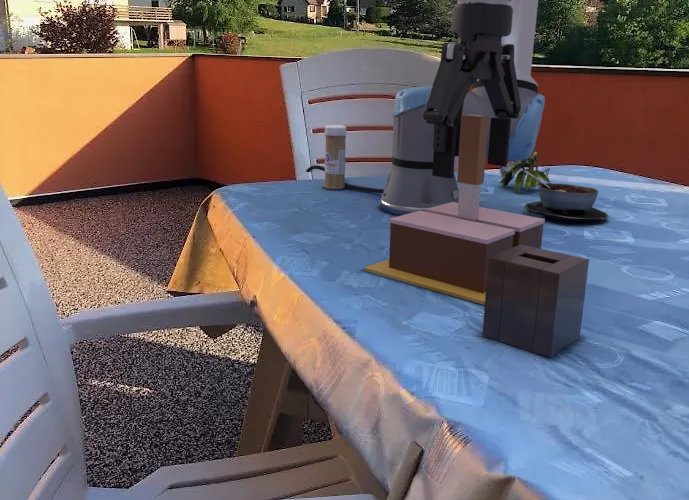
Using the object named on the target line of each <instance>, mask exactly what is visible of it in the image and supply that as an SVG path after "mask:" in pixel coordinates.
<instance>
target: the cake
mask: <svg viewBox="0 0 689 500" xmlns="http://www.w3.org/2000/svg"><path fill="white" fill-rule="evenodd" d="M457 216H458V203H456V202H450V203H446V204H443V205H439V206H435V207H431V208H428V209H426V212H425V211H416V212H413V213H409V214H405V215H398V216H395V217H390V218H389V223H390V228H389V229H390V231H389V232H390V233H389V252H388V253H389V254H388V255H389V256H388V259H385V260H382V261H379V262H376V263H373V264H370V265H367V266H364V267H363V271H364V272H367V273H371V274H375V275H378V276H381V277H383V278H388V279H391V280H396V281H399V282H402V283H406V284H410V285H413V286H416V287H420V288H424V289H427V290H430V291H434V292H437V293H441V294H444V295H448V296H451V297H455V298H458V299H462V300H465V301H469V302H472V303H476V304H479V305H483V306H485V295H486V283H487V270H488V258H489V257H490V256H493V255H495V254H498V253H500V252H503V251H505V250H508V249H511V248H513V247H516V246H518V245H526V246H530V247H535V248H540V249H542V241H543V233H544V224H545V223H546V218H542V217H536V216H530V215H525V214H520V213H515V212H511V211H510V212H509V211H504V210H499V209H492V208H488V207H482V206H479V217H478V222H474V221H469V220H464V219H459V218H457Z"/></svg>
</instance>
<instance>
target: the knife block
mask: <svg viewBox="0 0 689 500" xmlns="http://www.w3.org/2000/svg"><path fill="white" fill-rule="evenodd" d="M589 263H590V259H589V258H585V257H581V256H577V255H571V254H567V253H564V252H563V253H562V252H558V251H555V250H554V251H553V250H549V249H543V248H541V249H540V248H535V247H530V246H526V245H518V246H516V247H513V248H511V249H508V250H505V251H503V252H500V253H498V254H495V255H493V256H490V257H489V258H488V270H487V283H486V295H485V305H484V308H483V309H484V310H483V320H482V321H483V322H482V332H481V333H482V334H481V335H482V337H483V338H484V337H485V338H488V339H490V340H494V341H496V342H500V343H503V344H506V345H509V346H513V347H516V348H517V349H518V348H519V349H522V350H525V351H527V352H531V353H534V354H536V355H541V356H544V357H547V358H550V359H551V358H552V357H554V356H555V355H557V354H558V353H560V352H561V351H563V350H565V349H566V348H567V347H569V346H571V344H573V343H575V342H576V341H577V340H579V339H580V338H581V329H582V321H583V314H584V304H585V296H586V289H587V282H588V281H587V280H588V272H589Z"/></svg>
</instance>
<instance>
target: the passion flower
mask: <svg viewBox="0 0 689 500" xmlns="http://www.w3.org/2000/svg"><path fill="white" fill-rule="evenodd" d="M536 147H537V145H536V144H535V147H534V150H533V152H532V154H531V155H530V157H528V158H527V159H524V160H508V161H509V162H507V166H502V167H501V168H500V169H499V174H500V177H501V180H500V181H499V184H501V187H504V188H505V187H508V185H509V183H511V181H513V179H514V178H515V180H514V191H515V192H516V193H517V194H518V195H519V194H520V193H521V189H522V186H523V185H524V191H528V190H529V189H531V188H533V189H534V188H536V187H539V185H540V184H539V182H538V181H537V180H536V179H535V178H533V177H532V176H531V175H529V174H527V173H525V172H524V171H528V172H529V173H531V174H532V175H534V176H535V177H536V178H538V179H539V180H542V181H543V182H546V183H551V181H550V178H549V173H550V171H551V168H545V170H543V171H541V170H539V154H538V152H537V151H535V149H536ZM526 168H527V169H526ZM521 169H522V170H521ZM534 169H535V170H534ZM515 176H516V177H515ZM525 178H526V179H525Z"/></svg>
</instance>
